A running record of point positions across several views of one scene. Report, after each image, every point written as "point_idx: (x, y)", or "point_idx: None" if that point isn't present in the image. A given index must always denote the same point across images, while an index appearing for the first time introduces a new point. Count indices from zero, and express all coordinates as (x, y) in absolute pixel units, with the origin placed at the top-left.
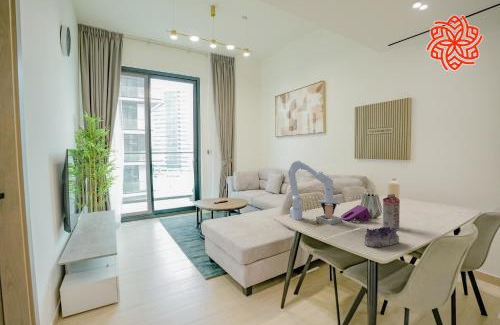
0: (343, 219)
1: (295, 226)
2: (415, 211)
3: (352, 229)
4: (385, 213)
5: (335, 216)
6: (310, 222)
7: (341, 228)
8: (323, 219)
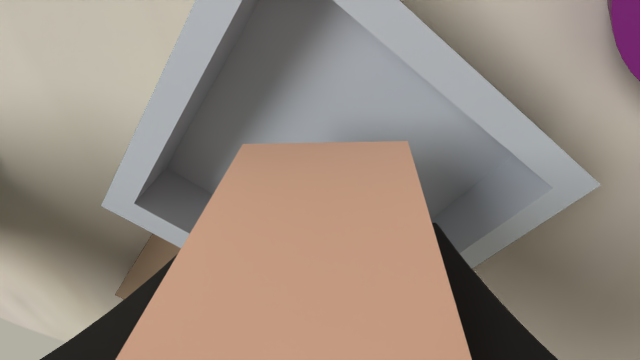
0: (636, 74)
1: (62, 340)
2: None
3: (597, 321)
4: None
5: (474, 102)
6: (127, 279)
7: None
8: None
